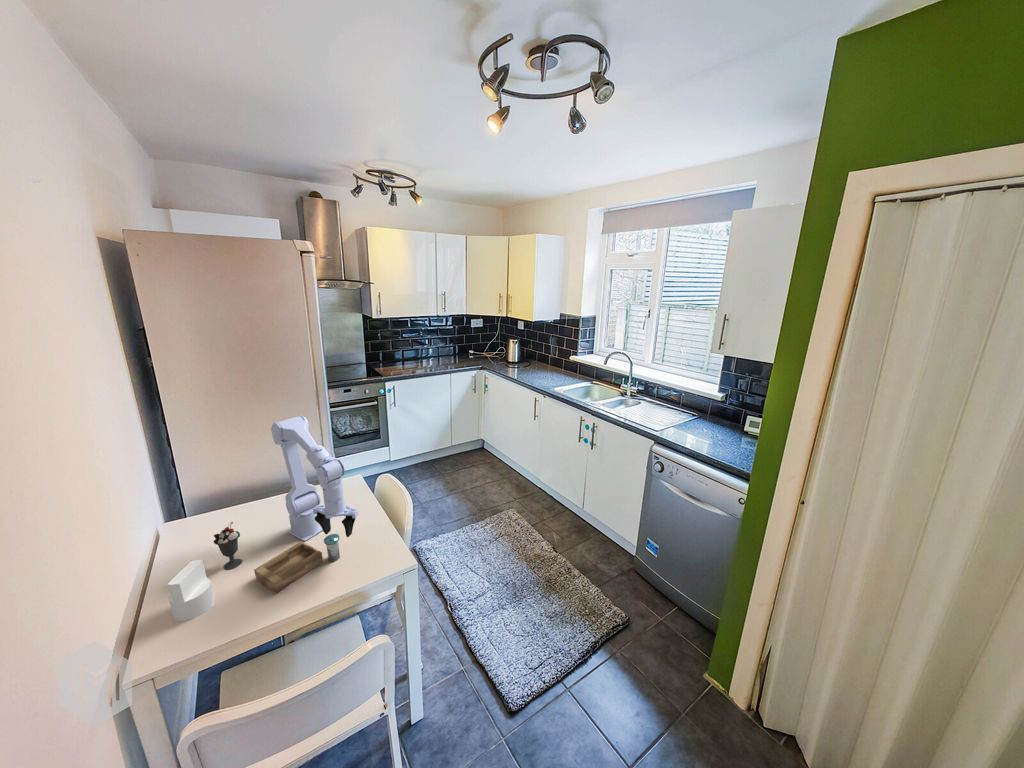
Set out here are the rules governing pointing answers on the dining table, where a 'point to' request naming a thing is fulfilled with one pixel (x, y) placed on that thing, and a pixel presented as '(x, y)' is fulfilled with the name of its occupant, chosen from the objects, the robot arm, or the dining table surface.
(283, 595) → the dining table surface
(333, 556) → the peg
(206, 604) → the base with upright slab
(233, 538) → the sundae
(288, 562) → the keyhole board
